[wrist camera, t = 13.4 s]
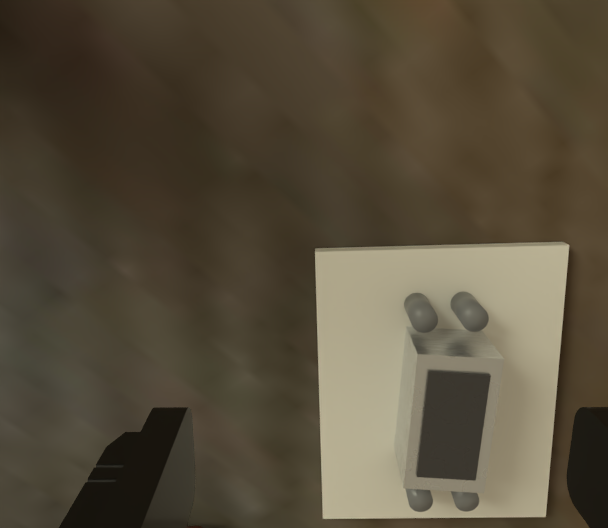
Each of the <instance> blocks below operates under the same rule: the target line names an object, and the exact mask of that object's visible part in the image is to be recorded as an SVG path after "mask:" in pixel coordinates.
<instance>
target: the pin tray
mask: <svg viewBox="0 0 608 528" xmlns="http://www.w3.org/2000/svg"><path fill="white" fill-rule="evenodd" d="M568 254H569V245H568V244H566V243H564V242H535V243H497V244H460V245H422V246H384V247H346V248H315V268H316V302H317V336H318V369H319V403H320V437H321V470H322V504H323V519H364V518H485V517H546V508H547V496H548V485H549V473H550V462H551V450H552V439H553V427H554V416H555V404H556V393H557V381H558V370H559V358H560V347H561V335H562V324H563V312H564V300H565V289H566V277H567V266H568ZM406 326H407V327H413V328H414V329H415V330H416V331H418V332H421V333H427V332H430V331H432V330H433V329H434V328H443V329H461V330H468V331H471V332H478V331H483V332H484V334H485V335H486V336H487V337H488V339H489V340H490V341H491V343H492V344H493V345H494V346H495V348H496V349H497V350H498V352H499V353H500V354H501V356H502V357H503V358H504V364H503V371H502V377H501V384H500V391H499V397H498V404H497V411H496V417H495V424H494V431H493V437H492V444H491V451H490V457H489V464H488V471H487V477H486V484H485V491H484V493H471V492H454V491H438V490H421V489H405V488H403V485H402V480H401V476H400V471H399V467H398V463H397V458H396V454H395V449H394V443H395V433H396V423H397V413H398V403H399V393H400V383H401V373H402V363H403V353H404V343H405V333H406Z"/></svg>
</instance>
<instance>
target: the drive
mask: <svg viewBox="0 0 608 528" xmlns="http://www.w3.org/2000/svg"><path fill="white" fill-rule="evenodd" d="M503 364H504V358H503V357H502V356H501V354H500V353H499V352H498V350H497V349H496V348H495V346H494V345H493V344H492V343H491V341H490V340H489V339H488V337H487V336H486V335H485V334H484V332H483V331H478V332H471V331H468V330H461V329H443V328H434V329H433V330H432V331H430V332H427V333H421V332H418V331H416V330H415V329H414V328H413V327H407V326H406V333H405V343H404V353H403V363H402V373H401V383H400V393H399V403H398V413H397V423H396V433H395V443H394V449H395V454H396V458H397V463H398V467H399V471H400V476H401V480H402V485H403V488H405V489H421V490H438V491H454V492H471V493H484V491H485V484H486V477H487V471H488V464H489V457H490V451H491V444H492V437H493V431H494V424H495V417H496V411H497V404H498V397H499V391H500V384H501V377H502V371H503Z"/></svg>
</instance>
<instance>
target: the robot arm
mask: <svg viewBox="0 0 608 528" xmlns="http://www.w3.org/2000/svg"><path fill="white" fill-rule="evenodd" d="M567 486H568V491H569V494H570V497H571V500H572V502H573V504H574V506H575V507H576V509H577V510H578V512H579V513H580V514H581V516H582V517H583V519H584V520H585V521H586V523H587V524H588V526H589V527H590V528H608V407H582V408H580V409H579V410H578V411H577V413H576V415H575V419H574V425H573V433H572V440H571V447H570V454H569V461H568V468H567ZM194 492H195V460H194V441H193V423H192V413H191V409H190V408H153V409H152V410H151V412H150V414H149V416H148V418H147V420H146V422H145V424H144V426H143V428H142V430H141V432H125V433H124V434H122V435H121V436H120V437H119V438H117V439H116V440H115V441H113V442H112V443H111V444H110V445H108V446H107V447H106V449H105V450H104V452H103V454H102V455H101V457H100V459H99V460H98V462H97V464H96V468H94V469H93V471H92V472H91V474H90V476H89V477H88V482H86V483H85V484H84V486H83V488H82V489H81V491H80V493H79V494H78V496H77V498H76V500H75V501H74V503H73V505H72V506H71V508H70V510H69V512H68V513H67V515H66V517H65V518H64V520H63V522H62V523H61V525H60V527H59V528H187V524H188V520H189V517H190V513H191V509H192V505H193V500H194Z"/></svg>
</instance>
